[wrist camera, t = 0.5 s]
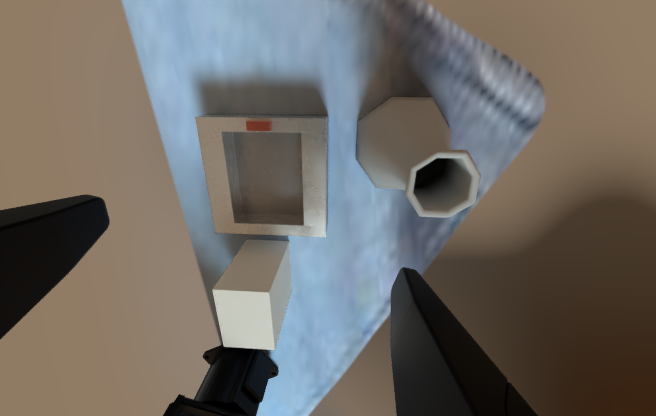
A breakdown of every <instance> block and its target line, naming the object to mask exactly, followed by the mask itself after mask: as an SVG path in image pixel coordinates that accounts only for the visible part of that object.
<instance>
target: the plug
mask: <svg viewBox="0 0 656 416" xmlns="http://www.w3.org/2000/svg"><path fill="white" fill-rule="evenodd" d="M212 291H213V296H214V301H215V306H216V311H217V316H218V321H219V326H220V331H221V336H222V341H223V346H224V347H236V348H251V349H266V350H275V348H276V344H277V341H278V337H279V334H280V330H281V327H282V323H283V320H284V316H285V313H286V309H287V306H288V302H289V299H290V295H291V292H292V277H291V260H290V242H289V241H274V240H249V239H247V240H246V241H245V243H244V244H243V246H242V247H241V249H240V250H239V251H238V253H237V254H236V256H235V257H234V259H233V260H232V262H231V263H230V265H229V266H228V267H227V269H226V270H225V272H224V273H223V275H222V276H221V278H220V279H219V281H218V282H217V283H216V285H215V286H214V288H213V289H212Z"/></svg>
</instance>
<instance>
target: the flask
mask: <svg viewBox="0 0 656 416" xmlns="http://www.w3.org/2000/svg"><path fill="white" fill-rule="evenodd" d="M450 141H451V130H450V128H449V127H448V125H447V123H446V121H445V119H444V118H443V116H442V114H441V112H440V110H439V108H438V107H437V105H436V103H435V101H434V99H433V98H432V97H391V98H389V99H388V100H387V101H385V102H384V103H382V104H381V105H380V106H378V107H377V108H376V109H374V110H373V111H372V112H370V113H369V114H367V115H366V116H365V117H363V118H362V119H361V120H359V121H358V133H357V152H356V160H357V161H358V163H359V164H360V166H361V167H362V168H363V170H364V171H365V173H366V174H367V176H368V177H369V179H370V180H371V181H372V183H373V184H374V186H375V187H376V188H392V189H401V190H405V195H406V196H407V198H408V199H409V201H410V202H411V204H412V205H413V207H414V208H415V210H416V211H417V213H418V214H419V216H420V217H444V218H448V217H450V216H452V215H454V214H456V213H458V212H459V211H461V210H463V209H465V208H467V207H468V206H470V205H472V204H474V203H475V199H476V195H477V191H478V187H479V183H480V178H481V174H480V173H479V171H478V169H477V167H476V165H475V163H474V162H473V160H472V158H471V156H470V154H469V152H468V151H467V150H451V149H450Z"/></svg>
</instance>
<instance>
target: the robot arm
mask: <svg viewBox="0 0 656 416" xmlns="http://www.w3.org/2000/svg"><path fill="white" fill-rule="evenodd" d="M108 225H109V216H108V213H107V209H106V205H105V202H104V200H103V199H102V198H100V197H96V196H92V195H80V196H75V197H69V198H64V199H59V200H53V201H48V202H42V203H37V204H32V205H26V206H21V207H16V208H10V209H5V210H0V339H1V338H2V337H3V336H4V335H5V334H6V333H7V332H9V331H10V330H11V329H12V327H14V326H15V325H16V324H17V323H18V322H19V321H20V320H21V319H22V318H23V317H24V316H25V315H26V314H27V313H28V312H29V311H30V310H31V309H32V308H33V307H34V306H35V305H36V304H37V303H38V302H39V301H40V300H41V299H42V298H44V296H46V294H48V293H49V292H50V291H51V290H52V289H53V288H54V287H55V286H56V285H57V284H58V283H59V282H60V281H61V280H62V279H63V278H64V277H65V276H66V275H67V274H68V273H69V272H70V271H71V270H72V269H73V268H74V267H75V266H76V264H77V263H78V262H79V261H80V260H81V259H82V257H83V256H84V255H85V254H86V253H87V252H88V250H89V249H90V248H91V247H92V246H93V245H94V243H95V242H96V241H97V240H98V239H99V238H100V236H101V235H102V234H103V233H104V232H105V231H106V229H107V228H108ZM390 320H391V322H390V347H391V359H392V370H393V380H394V392H395V402H396V413H397V416H539V415H538V414H537V413H536V412H535V410H534V409H533V408H532V407H531V406H530V405H529V404H528V403H527V401H526V400H525V399H524V398H523V397H522V395H521V394H520V393H519V392H518V391H517V389H516V388H515V387H514V386H513V385H512V383H510V382H508V380H507V378H506V377H505V375H504V374H503V373H502V372H501V371H500V369H499V368H498V367H497V366H496V365H495V363H494V362H493V361H492V360H491V359H490V358H489V356H488V355H487V354H486V353H485V352H484V350H483V349H482V348H481V347H480V346H479V344H478V343H477V342H476V341H475V340H474V339H473V337H472V336H471V335H470V334H469V333H468V331H467V330H466V329H465V328H464V327H463V325H462V324H461V323H460V322H459V321H458V319H457V318H456V317H455V316H454V315H453V313H451V311H450V310H449V309H448V308H447V306H446V305H445V304H444V303H443V302H442V300H441V299H440V298H439V297H438V296H437V294H436V293H435V292H434V291H433V290H432V288H431V287H430V286H429V285H428V284H427V283H426V281H425V280H424V279H423V278H422V277H421V275H420V274H419V273H418V272H417V271H416V270H414V269H410V268H405V267H403V268H401V269H400V271H399V273H398V275H397V277H396V280H395V282H394V284H393V286H392V290H391V319H390ZM203 358H204V359H205V360H206V361H207V362H208V363H209V364H210V365H211V366H210V368H209V370H208V372H207V374H206V376H205V378H204V380H203V382H202V384H201V386H200V388H199V390H198V392H197V394H196V396H195V398H194V400H193V399H190V398H186V397H185V396H183V395H180V394H179V395H178V397H177V398H176V400H175V401H174V403H173V402H172V403H171V404H169V406H168V408H167V410H166V411H165V413H164V415H163V416H256V414H257V410H258V407H259V403H260V402H262V400H263V397H264V393H265V389H266V386H267V382H268V379H270V378H273V377H276V376H277V375H278V372H279V370H278V369H277V368H276V367H275V365H274V364H273V363H272V362H271V361H270V360H269V359H268V357H267V356H266V355H265V354H264V353H263V352H262V351H261V349H251V348H236V347H224V346H223V345H220V346H218V347H216V348H213V349H210V350H208V351H206V352H205V353H204V355H203Z"/></svg>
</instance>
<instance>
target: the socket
mask: <svg viewBox="0 0 656 416" xmlns="http://www.w3.org/2000/svg"><path fill="white" fill-rule="evenodd" d="M195 119H196V125H197V130H198V136H199V142H200V147H201V153H202V159H203V164H204V170H205V176H206V181H207V187H208V193H209V198H210V204H211V210H212V215H213V221H214V227H215V232H216V233H232V234H258V235H285V236H311V237H326V231H327V224H328V116H320V115H236V114H210V115H204V116H198V117H195Z"/></svg>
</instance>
